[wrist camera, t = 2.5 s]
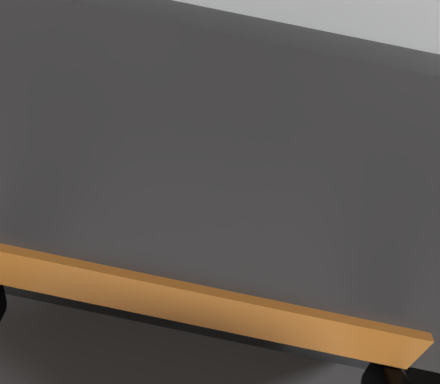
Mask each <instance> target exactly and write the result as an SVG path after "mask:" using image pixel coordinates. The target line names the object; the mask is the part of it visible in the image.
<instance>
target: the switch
mask: <svg viewBox="0 0 440 384" xmlns="http://www.w3.org/2000/svg"><path fill="white" fill-rule="evenodd" d="M4 290H5V295H6V300H7V308H6V311H5V314H4V316H3V318H2V320H1V322H0V384H361V378H362V375H363V373H364V371H365V370H366V368H367V367H368V365H369V364H370V362H368V361H363V360H359V359H354V358H349V357H344V356H339V355H335V354H330V353H325V352H320V351H316V350H311V349H306V348H301V347H296V346H292V345H287V344H282V343H277V342H272V341H268V340H263V339H258V338H253V337H249V336H244V335H239V334H234V333H229V332H225V331H220V330H215V329H210V328H206V327H201V326H196V325H191V324H186V323H182V322H177V321H172V320H167V319H163V318H158V317H153V316H148V315H143V314H139V313H134V312H129V311H124V310H119V309H115V308H110V307H105V306H100V305H96V304H91V303H86V302H81V301H76V300H72V299H67V298H62V297H57V296H53V295H48V294H43V293H38V292H33V291H29V290H24V289H19V288H14V287H9V286H5V285H4ZM401 369H402V368H401ZM402 371H403V372H404V373H405V371H404V369H402ZM405 375H406V373H405ZM406 376H407V375H406Z"/></svg>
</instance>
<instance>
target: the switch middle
mask: <svg viewBox="0 0 440 384" xmlns="http://www.w3.org/2000/svg"><path fill="white" fill-rule="evenodd" d="M0 285H5V286H9V287H14V288H19V289H24V290H29V291H33V292H38V293H43V294H48V295H53V296H57V297H62V298H67V299H72V300H76V301H81V302H86V303H91V304H96V305H100V306H105V307H110V308H115V309H119V310H124V311H129V312H134V313H139V314H143V315H148V316H153V317H158V318H163V319H167V320H172V321H177V322H182V323H186V324H191V325H196V326H201V327H206V328H210V329H215V330H220V331H225V332H229V333H234V334H239V335H244V336H249V337H253V338H258V339H263V340H268V341H272V342H277V343H282V344H287V345H292V346H296V347H301V348H306V349H311V350H316V351H320V352H325V353H330V354H335V355H339V356H344V357H349V358H354V359H359V360H363V361H368V362H373V363H378V364H382V365H387V366H392V367H397V368H402V369H406V370H407V369H408V368H409V367H413V368H417V369H422V370H427V371H432V372H436V373H440V54H435V53H430V52H425V51H420V50H415V49H410V48H405V47H400V46H395V45H391V44H386V43H381V42H376V41H371V40H366V39H361V38H356V37H351V36H346V35H341V34H336V33H331V32H326V31H321V30H316V29H312V28H307V27H302V26H297V25H292V24H287V23H282V22H277V21H272V20H267V19H262V18H257V17H252V16H247V15H242V14H238V13H233V12H228V11H223V10H218V9H213V8H208V7H203V6H198V5H193V4H188V3H183V2H178V1H173V0H0Z"/></svg>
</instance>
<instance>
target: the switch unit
mask: <svg viewBox="0 0 440 384" xmlns="http://www.w3.org/2000/svg"><path fill="white" fill-rule="evenodd" d="M173 1H178V2H183V3H188V4H193V5H198V6H203V7H208V8H213V9H218V10H223V11H228V12H233V13H238V14H242V15H247V16H252V17H257V18H262V19H267V20H272V21H277V22H282V23H287V24H292V25H297V26H302V27H307V28H312V29H316V30H321V31H326V32H331V33H336V34H341V35H346V36H351V37H356V38H361V39H366V40H371V41H376V42H381V43H386V44H391V45H395V46H400V47H405V48H410V49H415V50H420V51H425V52H430V53H435V54H440V0H173Z"/></svg>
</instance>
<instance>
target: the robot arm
mask: <svg viewBox="0 0 440 384" xmlns="http://www.w3.org/2000/svg"><path fill="white" fill-rule="evenodd" d="M6 308H7V300H6V295H5V290H4V285H0V322H1V320H2V318H3V316H4V314H5V311H6ZM361 384H412V382H411V381H410V380H409V378H408V377H407V376H406V375H405V373H404V372H403V371H402V369H401V368H397V367H392V366H387V365H382V364H378V363H373V362H370V364H369V365H368V367H367V368H366V370H365V371H364V373H363V375H362V378H361Z"/></svg>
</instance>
